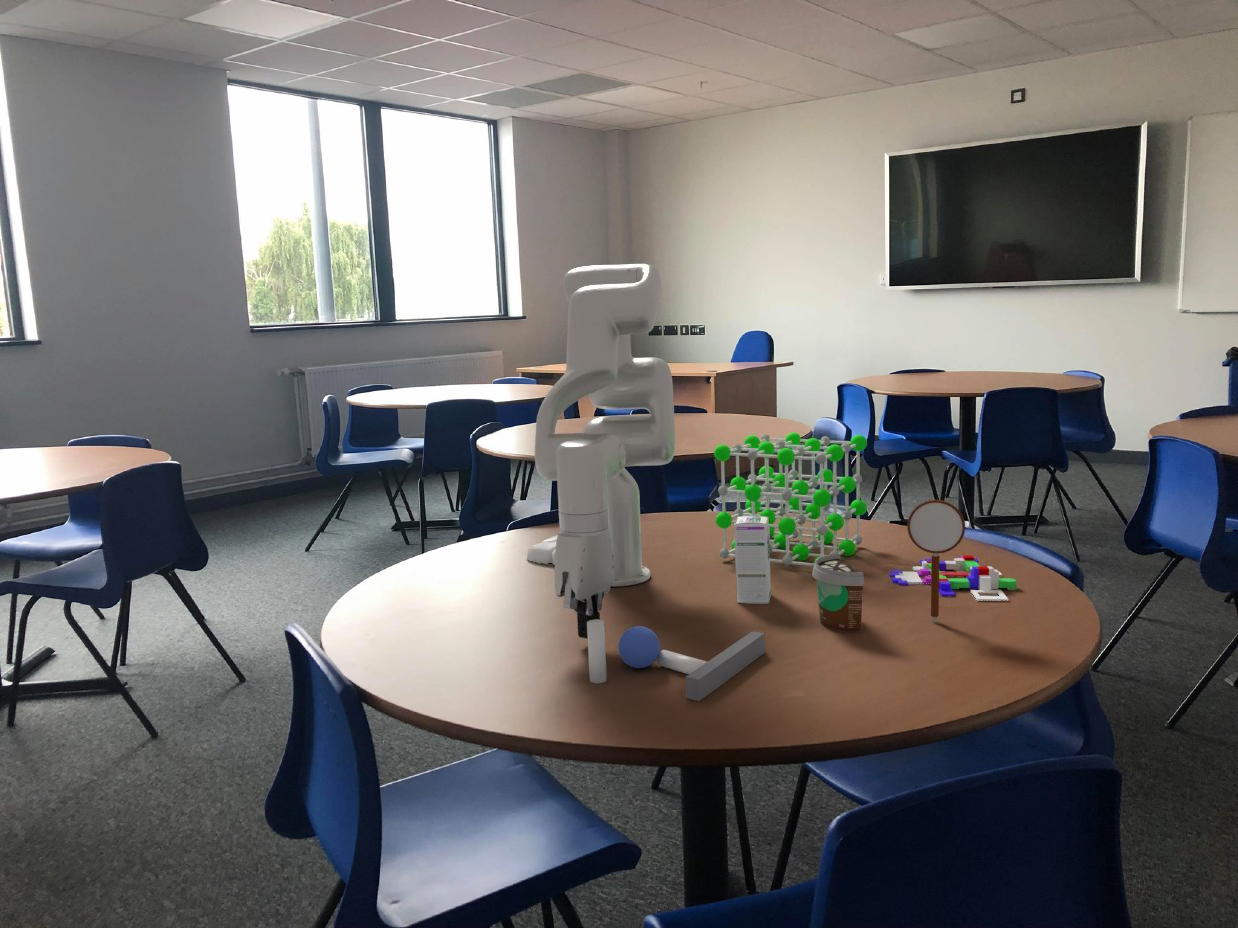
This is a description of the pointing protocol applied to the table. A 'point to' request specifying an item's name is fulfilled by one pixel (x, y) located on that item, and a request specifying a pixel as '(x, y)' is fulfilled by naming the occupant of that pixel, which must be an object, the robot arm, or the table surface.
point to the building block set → (975, 579)
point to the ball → (639, 647)
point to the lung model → (543, 551)
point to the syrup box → (752, 559)
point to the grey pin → (596, 651)
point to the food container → (838, 594)
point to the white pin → (679, 662)
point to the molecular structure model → (795, 494)
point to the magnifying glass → (936, 537)
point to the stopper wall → (724, 666)
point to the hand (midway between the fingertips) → (589, 636)
